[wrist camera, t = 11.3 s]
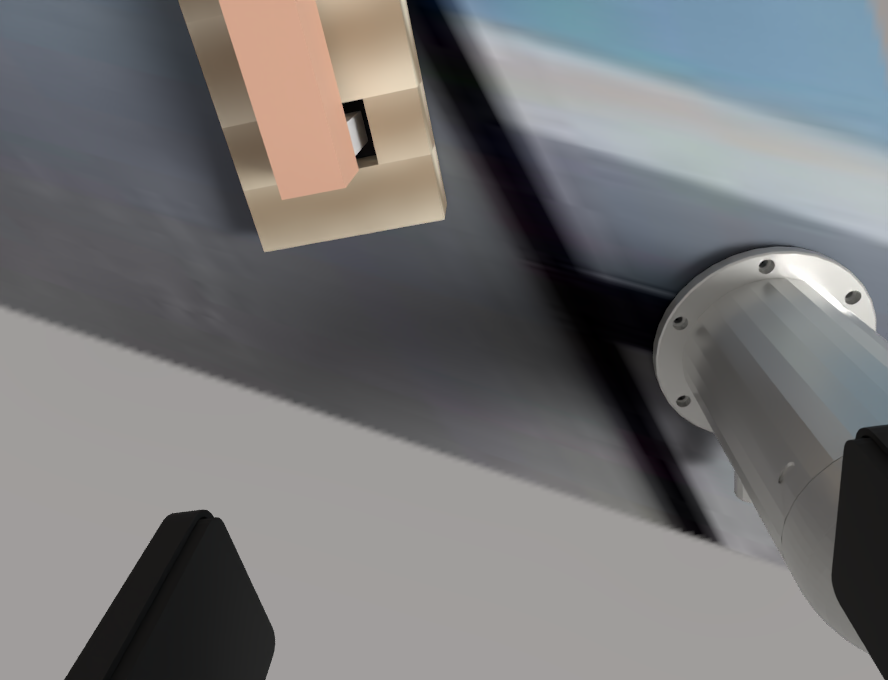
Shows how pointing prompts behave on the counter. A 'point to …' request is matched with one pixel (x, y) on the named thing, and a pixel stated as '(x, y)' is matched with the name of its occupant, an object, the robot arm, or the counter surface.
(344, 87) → the beige flat slotted block
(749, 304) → the robot arm
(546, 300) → the counter surface
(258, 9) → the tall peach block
